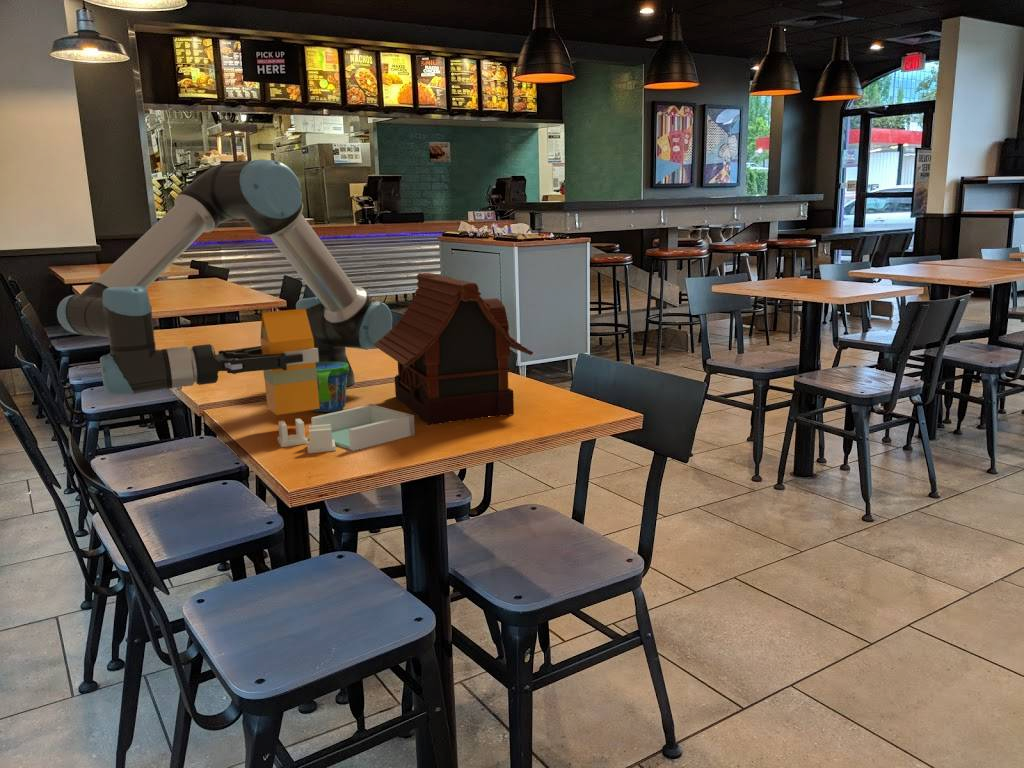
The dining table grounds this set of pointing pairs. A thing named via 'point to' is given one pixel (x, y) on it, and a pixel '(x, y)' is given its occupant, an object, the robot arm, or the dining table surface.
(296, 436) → the clip
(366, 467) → the dining table surface
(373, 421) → the tray
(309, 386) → the orange juice
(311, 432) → the white upright piece
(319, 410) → the snack cup
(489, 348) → the house
